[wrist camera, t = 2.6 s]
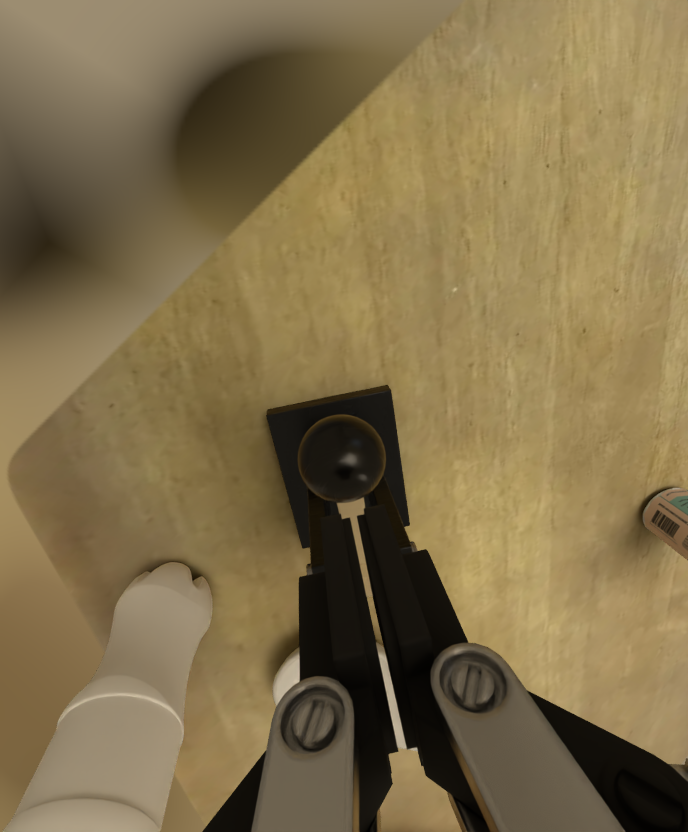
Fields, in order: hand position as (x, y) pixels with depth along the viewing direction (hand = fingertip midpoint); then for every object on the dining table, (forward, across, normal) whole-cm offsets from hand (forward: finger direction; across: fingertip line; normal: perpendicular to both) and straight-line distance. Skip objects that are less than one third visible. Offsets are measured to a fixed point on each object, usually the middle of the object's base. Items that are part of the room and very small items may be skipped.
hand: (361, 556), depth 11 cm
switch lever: (+8, 0, +3) cm, 9 cm away
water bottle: (+20, +16, +17) cm, 31 cm away
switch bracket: (+20, 0, +9) cm, 22 cm away
